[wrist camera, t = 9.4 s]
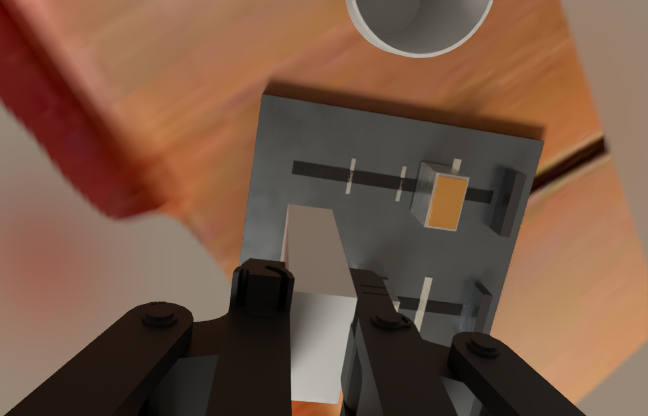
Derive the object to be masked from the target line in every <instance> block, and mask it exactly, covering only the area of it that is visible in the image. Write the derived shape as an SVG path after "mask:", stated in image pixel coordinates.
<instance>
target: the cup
mask: <svg viewBox="0 0 648 416" xmlns="http://www.w3.org/2000/svg"><path fill="white" fill-rule="evenodd" d="M492 3H493V0H346V5H347V9H348V12H349V15H350V17H351V20H352V22H353V24H354V25H355V27H356V28H357V30H358V31H359V32H360V34H361V35H362V36H363V37H364V38H365V39H366V40H367V41H369V42H370V43H371V44H373V45H374V46H376V47H378V48H380V49H382V50H385V51H388V52H391V53H395V54H399V55H403V56H407V57H415V58H425V57H433V56H437V55H441V54H444V53H446V52H449V51H451V50H453V49H455V48H456V47H458V46H460V45H461V44H462V43H464V42H465V41H466V40H467V39H469V38H470V37H471V36H472V35H473V34H474V33H475V32H476V30H477V29H478V28H479V27H480V25H481V24H482V22H483V21H484V19H485V18H486V16H487V14H488V12H489V10H490V8H491V5H492Z"/></svg>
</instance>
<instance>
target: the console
mask: <svg viewBox="0 0 648 416" xmlns="http://www.w3.org/2000/svg"><path fill="white" fill-rule="evenodd" d="M543 145H544V141H541V140H538V139H532V138H526V137H520V136H514V135H508V134H502V133H497V132H491V131H485V130H479V129H473V128H467V127H461V126H455V125H449V124H443V123H437V122H431V121H425V120H419V119H413V118H407V117H401V116H395V115H390V114H384V113H378V112H372V111H366V110H360V109H354V108H348V107H342V106H336V105H330V104H324V103H318V102H312V101H306V100H300V99H294V98H288V97H283V96H277V95H271V94H265V93H263V94H262V99H261V107H260V114H259V121H258V129H257V136H256V144H255V151H254V159H253V166H252V174H251V181H250V188H249V196H248V203H247V211H246V218H245V226H244V233H243V241H242V248H241V255H240V263H239V266H241V264H243V263H244V262H245V261H247V260H248V259H250V258H255V259H264V260H273V261H280V260H281V253H282V246H283V238H284V231H285V224H286V216H287V209H288V204H292V205H300V206H308V207H316V208H324V209H332V212H333V215H334V219H335V222H336V226H337V229H338V232H339V236H340V239H341V243H342V246H343V250H344V253H345V257H346V260H347V264H348V267H349V268H355V269H364V270H372V271H374V272H375V273H376V274H377V275H378V276H380V277H381V278H382V279H388V280H390V282H391V284H392V286H393V289H394V291H395V293H396V295H397V297H398V299H399V301H400V304H399V308H398V313H401V314H403V315H405V316H406V317H408V318H409V319H411V320H412V321H413V323H414V324H415V325H416V327H417V329H418V331H419V333H420V335H421V337H422V339H424V340H427V341H430V342H433V343H436V344H440V345H444V346H447V347H450V346H451V342H452V338H453V336H454V335H456V334H457V333H460V332H465V331H467V332H481V333H482V334H483V333H485V334H488V335H489V333H490V330H491V326H492V323H493V319H494V316H495V312H496V309H497V305H498V302H499V298H500V295H501V291H502V288H503V284H504V281H505V277H506V274H507V270H508V267H509V263H510V260H511V256H512V253H513V250H514V246H515V243H516V239H517V236H518V232H519V229H520V225H521V222H522V218H523V215H524V211H525V208H526V204H527V201H528V197H529V194H530V190H531V187H532V183H533V180H534V176H535V173H536V169H537V166H538V162H539V159H540V155H541V152H542V148H543ZM421 162H428V163H434V164H441V165H447V166H452V167H453V168H455V169H457V170H458V171H460V172H461V173H463V174H465V175H466V176H468V177H469V182H468V186H467V190H466V194H465V198H464V202H463V206H462V210H461V214H460V218H459V222H458V226H457V230H456V231H449V230H442V229H435V228H428V227H424V226H423V225H422V224H421V223H420V222H419V220H418V219H417V218H416V217H415V216H414V214H413V213H412V212H411V207H412V202H413V198H414V193H415V189H416V184H417V180H418V175H419V171H420V167H421Z"/></svg>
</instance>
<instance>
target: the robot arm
mask: <svg viewBox="0 0 648 416" xmlns="http://www.w3.org/2000/svg"><path fill="white" fill-rule="evenodd" d="M193 319H194V318H193V316H192V313H191V312H190V311H189V310H188V309H186V308H185V307H183V306H180V305H177V304H174V303H167V302H150V303H147V304H143V305H139V306H137V307H135V308H133V309H131V310H130V311H128V312H127V313H126V314H125V315H124V316H122V317H121V318H120V319H119V320H117V321H116V322H115V323H114V324H113V325H111V326H110V327H109V328H108V329H107V330H106V331H104V332H103V333H102V334H101V335H100V336H98V337H97V338H96V339H95V340H94V341H93V342H91V343H90V344H89V345H88V346H86V347H85V348H84V349H83V350H82V351H80V352H79V353H78V354H77V355H76V356H75V357H73V358H72V359H71V360H70V361H68V362H67V363H66V364H65V365H64V366H62V367H61V368H60V369H59V370H58V371H57V372H55V373H54V374H53V375H52V376H51V377H49V378H48V379H47V380H46V381H45V382H43V383H42V384H41V385H40V386H39V387H37V388H36V389H35V390H34V391H33V392H31V393H30V394H29V395H28V396H27V397H25V398H24V399H23V400H22V401H21V402H20V403H18V404H17V405H16V406H15V407H14V408H12V409H11V410H10V411H9V412H8V413H6V414H5V415H4V416H292V407H291V400H296V401H308V402H320V403H332V404H338V399H339V394H340V388H341V386H342V392H343V402H342V407H341V413H340V416H586V415H585V414H584V413H583V412H581V411H580V410H579V409H578V408H577V407H576V406H575V405H574V404H572V403H571V402H570V401H569V400H568V399H567V398H566V397H564V396H563V395H562V394H561V393H560V392H559V391H558V390H557V389H555V388H554V387H553V386H552V385H551V384H550V383H549V382H548V381H546V380H545V379H544V378H543V377H542V376H541V375H540V374H539V373H537V372H536V371H535V370H534V369H533V368H532V367H531V366H530V365H528V364H527V363H526V362H525V361H524V360H523V359H522V358H521V357H519V356H518V355H517V354H516V353H515V352H514V351H513V350H512V349H510V348H509V347H508V346H507V345H505V344H504V343H502V342H501V341H500V340H497V339H495V338H493V337H491V336H490V335H488V334H485V333H483V334H482V333H481V332H467V331H465V332H460V333H457V334H456V335H454V336H453V338H452V342H451V346H450V347H447V346H444V345H440V344H436V343H433V342H430V341H427V340H424V339H422V337H421V335H420V333H419V331H418V329H417V327H416V325H415V324H414V323H413V321H412V320H411V319H409V318H408V317H406V316H405V315H403V314H401V313H398V312H396V309H395V307H394V305H393V302H392V300H391V298H390V296H389V293H388V290H387V289H386V286H385V283H384V281H383V279H382V278H381V277H380V276H378V275H377V274H376V273H375V272H374V271H372V270H364V269H355V268H349V267H348V264H347V260H346V257H345V253H344V250H343V246H342V243H341V239H340V236H339V232H338V229H337V226H336V222H335V219H334V215H333V212H332V209H324V208H316V207H308V206H300V205H292V204H288V209H287V216H286V224H285V231H284V238H283V246H282V253H281V260H280V261H273V260H264V259H255V258H250V259H248V260H247V261H245V262H244V263H243V264H241V266H239V267H237V268H236V269H235V270H234V272H233V279H232V288H231V297H230V306H229V311H228V313H227V314H226V315H224V316H222V317H220V318H217V319H213V320H209V321H202V322H193Z"/></svg>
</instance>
